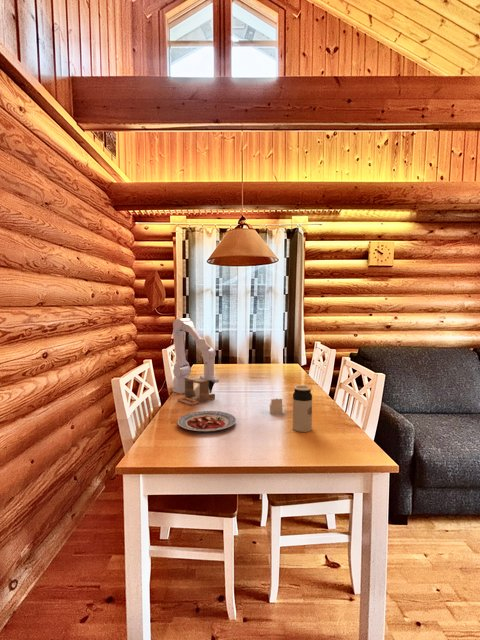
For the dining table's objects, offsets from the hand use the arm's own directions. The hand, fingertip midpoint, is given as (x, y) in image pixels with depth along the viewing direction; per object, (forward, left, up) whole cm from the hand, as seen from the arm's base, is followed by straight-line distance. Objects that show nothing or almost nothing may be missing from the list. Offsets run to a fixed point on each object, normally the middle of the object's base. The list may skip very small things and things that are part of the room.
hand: (209, 393), depth 202 cm
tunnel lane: (0, -7, -2) cm, 7 cm away
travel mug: (+68, -5, -2) cm, 68 cm away
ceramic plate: (+35, -30, -2) cm, 46 cm away
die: (+1, -6, -2) cm, 6 cm away
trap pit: (+2, -16, -2) cm, 16 cm away
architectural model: (+46, +4, -2) cm, 46 cm away
